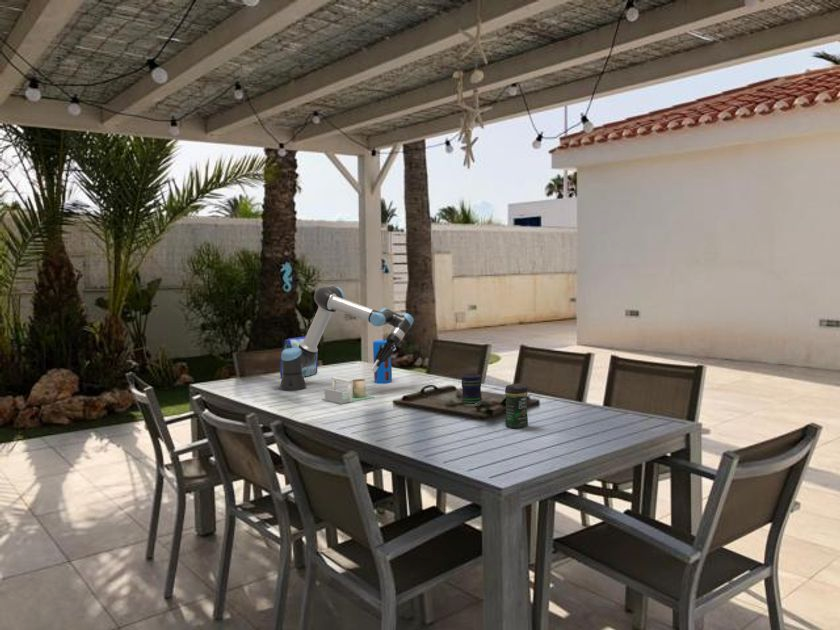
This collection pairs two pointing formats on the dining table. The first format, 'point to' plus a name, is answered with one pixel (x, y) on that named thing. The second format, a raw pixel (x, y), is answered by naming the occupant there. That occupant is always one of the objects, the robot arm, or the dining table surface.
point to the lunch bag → (295, 344)
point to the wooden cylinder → (359, 388)
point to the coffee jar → (516, 405)
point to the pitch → (352, 398)
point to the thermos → (382, 366)
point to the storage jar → (471, 388)
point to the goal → (338, 392)
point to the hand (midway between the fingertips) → (372, 370)
